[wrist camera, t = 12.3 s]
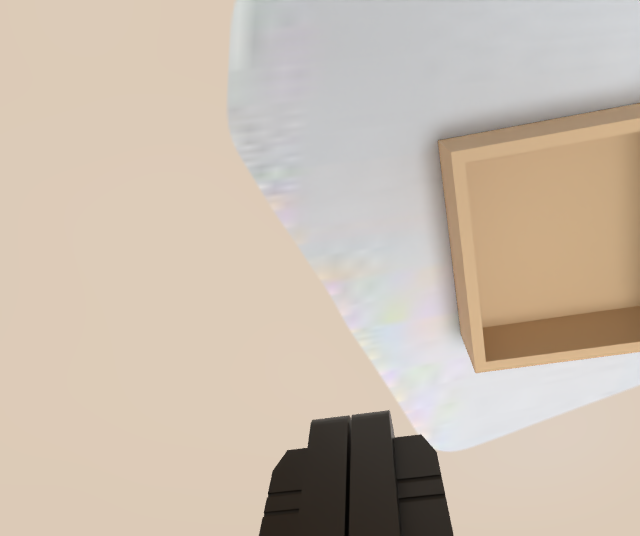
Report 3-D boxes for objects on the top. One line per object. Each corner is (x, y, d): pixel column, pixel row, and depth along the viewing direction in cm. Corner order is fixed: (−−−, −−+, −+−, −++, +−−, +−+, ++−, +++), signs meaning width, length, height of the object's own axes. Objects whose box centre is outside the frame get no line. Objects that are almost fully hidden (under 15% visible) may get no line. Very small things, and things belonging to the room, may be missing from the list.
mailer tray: (437, 140, 39) (450, 152, 34) (733, 85, 37) (800, 88, 31) (460, 334, 45) (475, 373, 39) (721, 298, 42) (777, 334, 36)
